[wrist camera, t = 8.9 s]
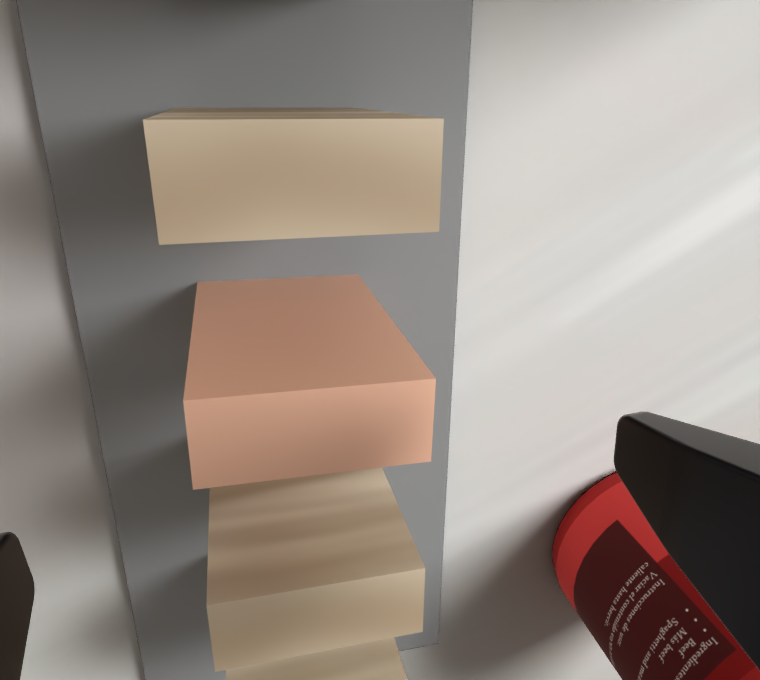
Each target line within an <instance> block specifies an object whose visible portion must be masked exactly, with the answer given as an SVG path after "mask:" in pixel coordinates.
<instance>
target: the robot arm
mask: <svg viewBox="0 0 760 680" xmlns="http://www.w3.org/2000/svg"><path fill="white" fill-rule="evenodd" d="M614 465H615V469H616V471H617V473H618V475H619V477H620V479H621V480H622V482H623V483H624V485H625V487H626V488H627V490H628V491H629V493H630V494H631V496H632V498H633V499H634V501H635V502H636V504H637V506H638V507H639V509H640V510H641V512H642V513H643V515H644V517H645V518H646V520H647V521H648V523H649V525H650V526H651V528H652V529H653V531H654V532H655V534H656V536H657V537H658V539H659V540H660V542H661V543H662V545H663V546H664V548H665V549H666V551H667V552H668V553H669V555H670V556H671V557H672V559H673V560H674V561H675V563H676V564H677V565H678V567H679V568H680V569H681V571H682V572H683V573H684V574H685V576H686V577H687V578H688V580H689V581H690V582H691V583H692V585H693V586H694V587H695V588H696V590H697V591H698V592H699V594H700V595H701V596H702V597H703V599H704V600H705V601H706V603H707V604H708V605H709V606H710V608H711V609H712V610H713V612H714V613H715V614H716V615H717V617H718V618H719V619H720V621H721V622H722V623H723V624H724V626H725V627H726V628H727V629H728V631H729V632H730V633H731V635H732V636H733V637H734V638H735V640H736V641H737V642H738V644H739V645H740V646H741V647H742V649H743V650H744V651H745V653H746V654H747V655H748V656H749V658H750V659H751V660H752V661H753V663H754V664H755V665H756V667H757V668H758V669H759V670H760V444H757V443H754V442H750V441H747V440H743V439H740V438H736V437H733V436H729V435H726V434H722V433H719V432H715V431H712V430H708V429H705V428H702V427H698V426H695V425H691V424H688V423H684V422H681V421H677V420H674V419H670V418H667V417H663V416H660V415H656V414H653V413H649V412H638V413H633V414H628V415H624V416H622V417H621V418H620V419H619V421H618V424H617V433H616V442H615V452H614ZM33 600H34V581H33V577H32V574H31V572H30V569H29V566H28V563H27V561H26V558H25V555H24V553H23V550H22V547H21V545H20V542H19V540H18V538H17V537H16V535H15V534H13V533H11V532H6V533H0V680H20V676H21V670H22V664H23V658H24V653H25V647H26V641H27V635H28V629H29V623H30V617H31V612H32V606H33Z"/></svg>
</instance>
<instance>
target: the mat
mask: <svg viewBox="0 0 760 680" xmlns="http://www.w3.org/2000/svg"><path fill="white" fill-rule="evenodd" d="M16 2H17V7H18V13H19V18H20V23H21V28H22V34H23V39H24V44H25V49H26V55H27V60H28V65H29V70H30V76H31V81H32V86H33V91H34V97H35V102H36V107H37V112H38V118H39V123H40V128H41V133H42V139H43V144H44V149H45V154H46V160H47V165H48V170H49V175H50V181H51V186H52V191H53V196H54V202H55V207H56V212H57V217H58V223H59V228H60V233H61V238H62V244H63V249H64V254H65V259H66V265H67V270H68V275H69V280H70V286H71V291H72V296H73V301H74V307H75V312H76V317H77V322H78V328H79V333H80V338H81V343H82V349H83V354H84V359H85V364H86V370H87V375H88V380H89V385H90V391H91V396H92V401H93V407H94V412H95V417H96V422H97V428H98V433H99V438H100V443H101V449H102V454H103V459H104V464H105V470H106V475H107V480H108V485H109V491H110V496H111V501H112V506H113V512H114V517H115V522H116V527H117V533H118V538H119V543H120V548H121V554H122V559H123V564H124V569H125V575H126V580H127V585H128V590H129V596H130V601H131V606H132V611H133V617H134V622H135V627H136V632H137V638H138V643H139V648H140V653H141V659H142V664H143V669H144V674H145V680H226V670H223V671H218V672H215V667H214V660H213V652H212V644H211V637H210V629H209V621H208V614H207V606H206V603H207V567H208V530H209V493H210V488H204V489H195V490H193V485H192V476H191V467H190V458H189V449H188V440H187V431H186V422H185V413H184V404H183V398H184V389H185V381H186V373H187V365H188V356H189V348H190V340H191V331H192V323H193V315H194V307H195V298H196V290H197V282H206V281H227V280H249V279H271V278H292V277H314V276H336V275H357V274H358V275H359V277H360V278H361V279H362V281H363V282H364V283H365V285H366V286H367V287H368V289H369V290H370V291H371V293H372V294H373V295H374V297H375V298H376V299H377V301H378V302H379V303H380V305H381V306H382V307H383V309H384V310H385V311H386V313H387V314H388V315H389V317H390V318H391V319H392V321H393V322H394V323H395V325H396V326H397V327H398V329H399V330H400V331H401V333H402V334H403V335H404V337H405V338H406V339H407V341H408V342H409V343H410V345H411V346H412V347H413V349H414V350H415V351H416V353H417V354H418V355H419V357H420V358H421V359H422V361H423V362H424V363H425V365H426V366H427V367H428V369H429V370H430V371H431V373H432V374H433V375H434V377H435V378H436V387H435V404H434V421H433V438H432V455H431V462H423V463H414V464H406V465H398V466H389V467H382V468H383V471H384V473H385V475H386V478H387V480H388V482H389V485H390V487H391V489H392V492H393V494H394V496H395V499H396V501H397V503H398V506H399V508H400V510H401V513H402V515H403V517H404V520H405V522H406V524H407V527H408V529H409V531H410V534H411V536H412V538H413V541H414V543H415V545H416V548H417V550H418V552H419V555H420V557H421V559H422V562H423V564H424V566H425V588H424V612H423V632H419V633H413V634H408V635H403V636H398V637H394V638H395V642H396V645H397V648H398V651H403V650H408V649H413V648H418V647H423V646H428V645H433V644H438V634H439V616H440V598H441V579H442V561H443V542H444V524H445V505H446V487H447V468H448V450H449V431H450V413H451V395H452V376H453V358H454V339H455V321H456V302H457V284H458V265H459V247H460V228H461V210H462V191H463V173H464V155H465V136H466V118H467V99H468V81H469V62H470V44H471V25H472V7H473V0H16ZM173 108H362V109H371V110H379V111H387V112H395V113H403V114H411V115H419V116H427V117H435V118H443V119H444V127H443V151H442V175H441V200H440V224H439V232H423V233H402V234H380V235H359V236H337V237H316V238H294V239H273V240H251V241H230V242H209V243H187V244H166V245H159V240H158V232H157V224H156V217H155V209H154V202H153V194H152V186H151V179H150V171H149V163H148V156H147V148H146V140H145V133H144V125H143V120H144V119H146V118H149V117H152V116H155V115H157V114H160V113H163V112H165V111H168V110H171V109H173Z"/></svg>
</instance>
